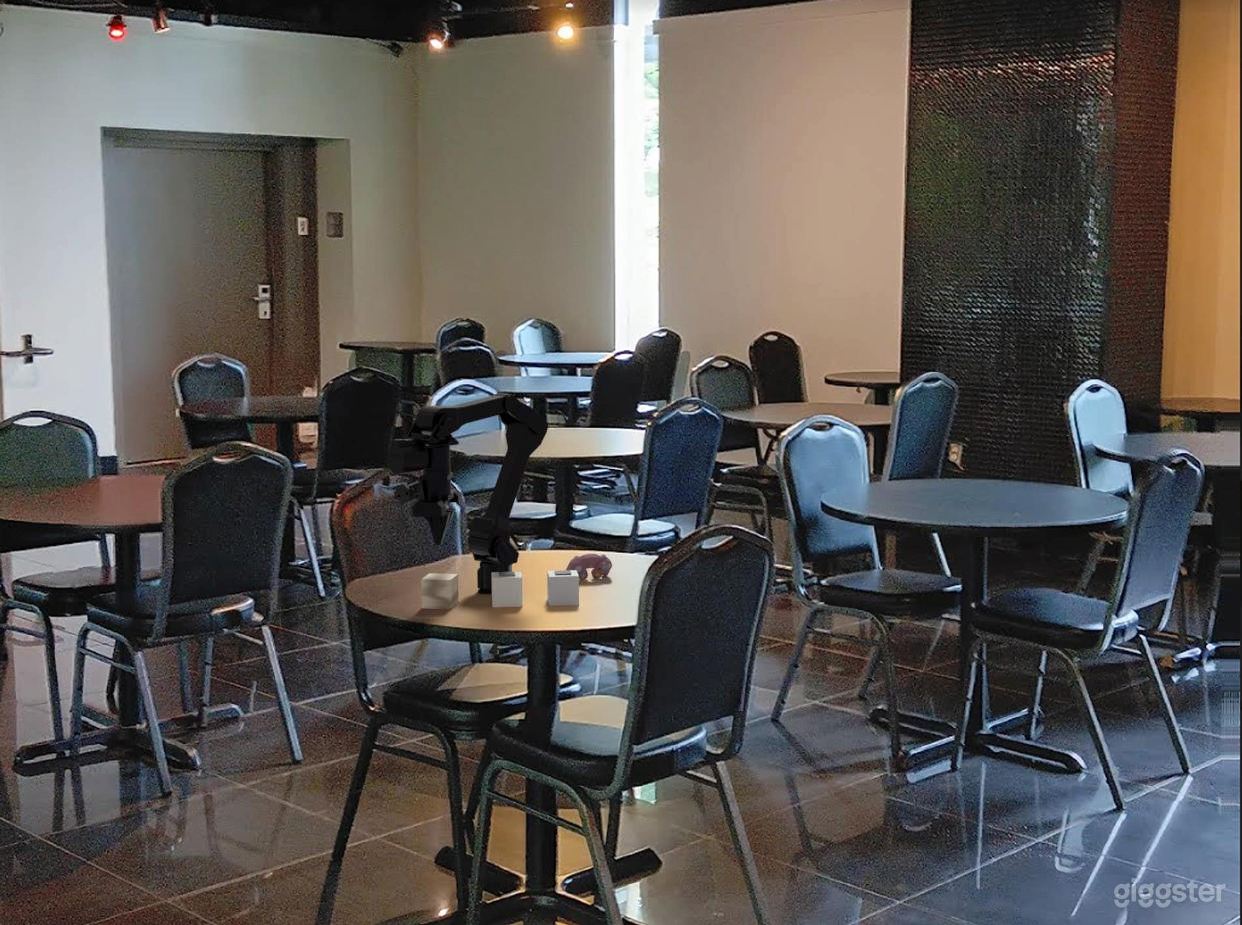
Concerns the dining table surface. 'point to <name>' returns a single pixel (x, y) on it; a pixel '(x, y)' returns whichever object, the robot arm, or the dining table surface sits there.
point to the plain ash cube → (439, 591)
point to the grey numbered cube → (563, 587)
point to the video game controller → (590, 565)
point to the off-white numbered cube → (507, 589)
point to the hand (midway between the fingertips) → (438, 545)
